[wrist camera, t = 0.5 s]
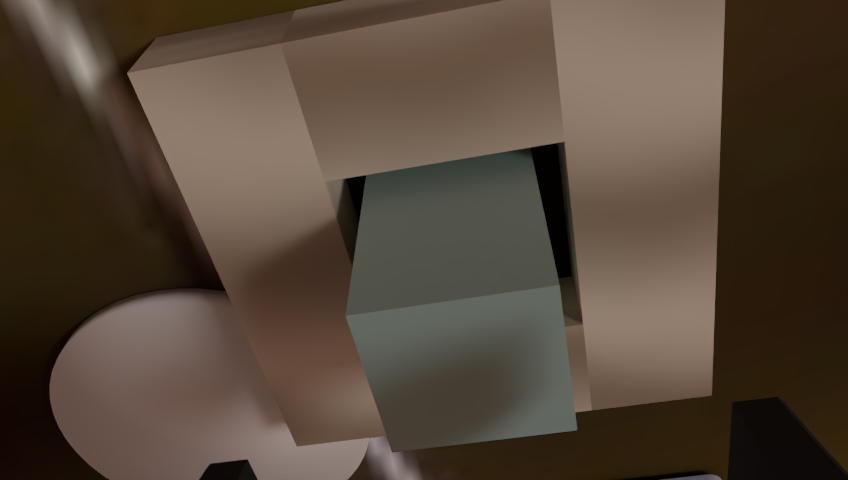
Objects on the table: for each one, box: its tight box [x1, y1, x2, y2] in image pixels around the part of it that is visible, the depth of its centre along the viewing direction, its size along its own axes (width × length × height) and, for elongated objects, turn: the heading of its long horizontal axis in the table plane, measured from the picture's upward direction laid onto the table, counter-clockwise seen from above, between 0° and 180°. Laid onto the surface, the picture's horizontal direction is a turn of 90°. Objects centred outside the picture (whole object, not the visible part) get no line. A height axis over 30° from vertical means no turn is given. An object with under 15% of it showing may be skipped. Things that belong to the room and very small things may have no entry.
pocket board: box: [127, 0, 725, 447], centre depth 19 cm, size 12×12×2 cm
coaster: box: [50, 288, 369, 480], centre depth 24 cm, size 10×10×1 cm
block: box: [346, 148, 577, 452], centre depth 17 cm, size 4×4×6 cm
